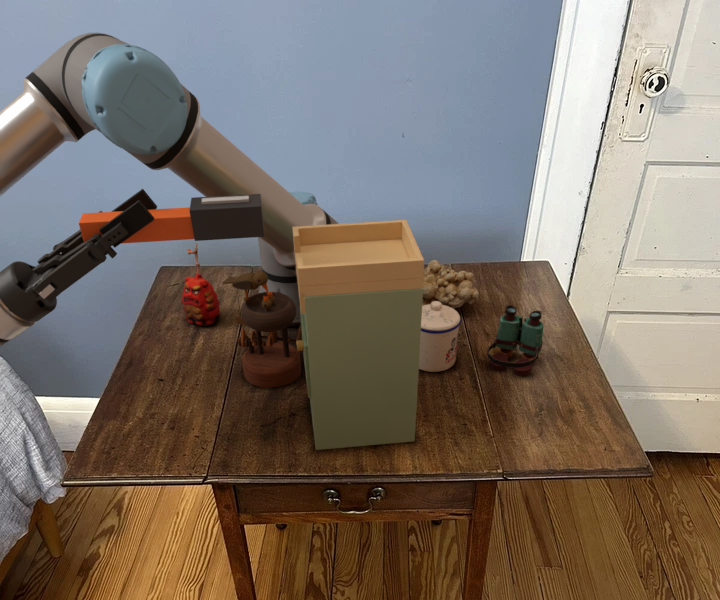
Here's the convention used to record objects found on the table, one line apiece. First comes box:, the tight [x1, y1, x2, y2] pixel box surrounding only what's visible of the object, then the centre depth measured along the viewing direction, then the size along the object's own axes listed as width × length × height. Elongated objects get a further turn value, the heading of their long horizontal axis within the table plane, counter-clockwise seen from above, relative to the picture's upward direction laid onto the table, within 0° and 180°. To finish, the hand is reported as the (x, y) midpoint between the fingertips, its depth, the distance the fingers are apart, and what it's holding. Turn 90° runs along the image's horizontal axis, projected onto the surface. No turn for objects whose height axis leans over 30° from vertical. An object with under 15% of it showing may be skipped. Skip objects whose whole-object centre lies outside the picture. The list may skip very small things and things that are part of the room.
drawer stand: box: [292, 219, 425, 451], centre depth 103 cm, size 14×18×30 cm
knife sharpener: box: [78, 194, 264, 245], centre depth 88 cm, size 4×23×4 cm, turn 97°
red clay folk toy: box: [180, 242, 221, 327], centre depth 134 cm, size 8×7×15 cm
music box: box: [222, 270, 302, 389], centre depth 119 cm, size 15×11×20 cm
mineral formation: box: [422, 259, 480, 310], centre depth 139 cm, size 8×13×15 cm
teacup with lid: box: [419, 301, 462, 373], centre depth 124 cm, size 12×9×12 cm
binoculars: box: [486, 304, 544, 377], centre depth 122 cm, size 9×11×10 cm
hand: (147, 204), depth 86 cm, fingers closed on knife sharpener, 3 cm apart
